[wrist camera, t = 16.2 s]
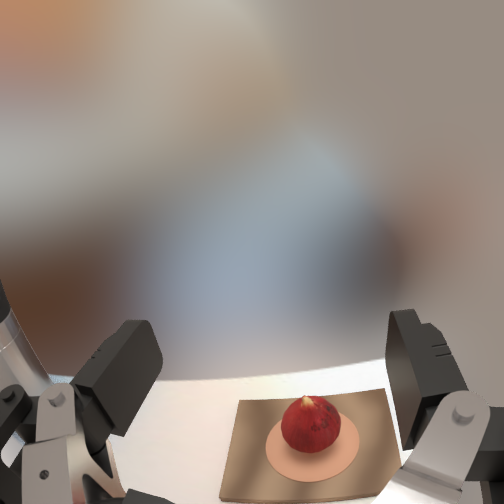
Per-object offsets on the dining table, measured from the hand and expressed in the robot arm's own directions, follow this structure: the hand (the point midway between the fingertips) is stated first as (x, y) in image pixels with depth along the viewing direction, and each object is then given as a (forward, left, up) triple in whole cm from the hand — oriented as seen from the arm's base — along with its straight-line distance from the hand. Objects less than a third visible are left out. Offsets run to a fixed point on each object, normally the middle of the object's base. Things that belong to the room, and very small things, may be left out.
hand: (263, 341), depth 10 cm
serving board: (-4, +10, -25) cm, 27 cm away
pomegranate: (-4, +10, -24) cm, 26 cm away
